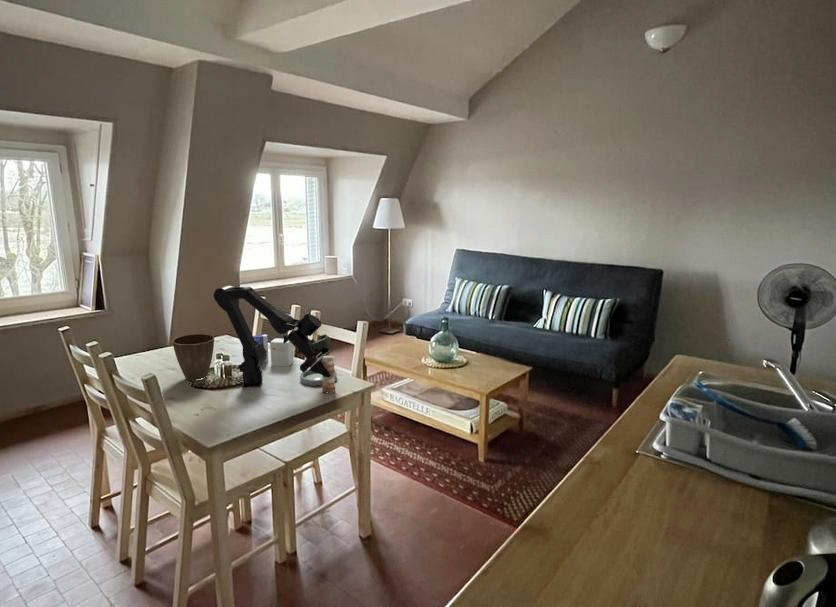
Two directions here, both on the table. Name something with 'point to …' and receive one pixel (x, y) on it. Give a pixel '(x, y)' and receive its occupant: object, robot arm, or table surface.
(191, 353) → the plant pot
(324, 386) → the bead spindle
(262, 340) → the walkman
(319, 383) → the round tray
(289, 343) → the small box
